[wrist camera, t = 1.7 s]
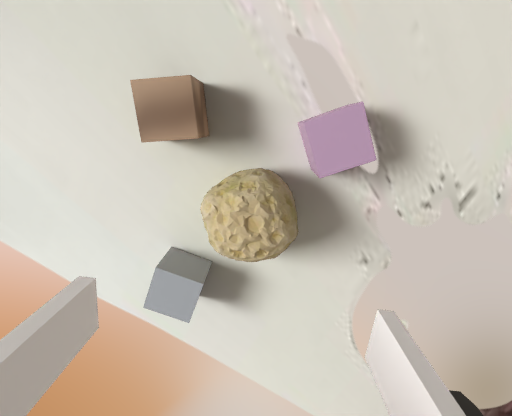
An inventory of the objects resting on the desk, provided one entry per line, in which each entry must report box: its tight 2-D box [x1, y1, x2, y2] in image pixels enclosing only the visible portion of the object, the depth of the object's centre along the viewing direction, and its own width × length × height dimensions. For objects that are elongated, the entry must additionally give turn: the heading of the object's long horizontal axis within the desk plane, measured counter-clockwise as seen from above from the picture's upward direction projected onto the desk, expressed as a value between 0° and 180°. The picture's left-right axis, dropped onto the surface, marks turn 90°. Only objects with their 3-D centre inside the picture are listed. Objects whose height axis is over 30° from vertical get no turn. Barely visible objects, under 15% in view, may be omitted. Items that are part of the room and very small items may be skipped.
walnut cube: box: [130, 75, 209, 142], centre depth 26 cm, size 5×5×5 cm
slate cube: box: [143, 247, 212, 323], centre depth 31 cm, size 5×5×5 cm
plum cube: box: [298, 102, 376, 178], centre depth 26 cm, size 5×5×5 cm
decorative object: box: [200, 168, 298, 262], centre depth 28 cm, size 9×10×10 cm
